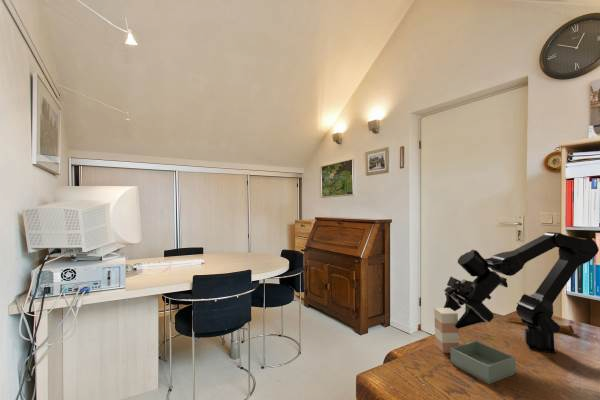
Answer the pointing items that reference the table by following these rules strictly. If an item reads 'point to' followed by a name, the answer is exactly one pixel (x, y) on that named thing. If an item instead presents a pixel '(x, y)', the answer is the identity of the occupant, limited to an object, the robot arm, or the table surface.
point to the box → (483, 361)
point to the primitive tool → (562, 329)
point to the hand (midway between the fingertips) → (448, 321)
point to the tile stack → (446, 329)
